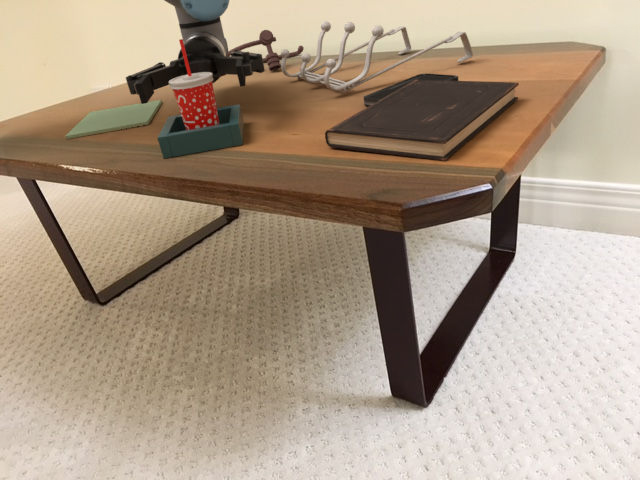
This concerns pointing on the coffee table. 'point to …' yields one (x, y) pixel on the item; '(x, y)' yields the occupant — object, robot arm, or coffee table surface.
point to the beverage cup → (195, 97)
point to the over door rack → (377, 35)
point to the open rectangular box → (202, 134)
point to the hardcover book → (424, 118)
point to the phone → (388, 90)
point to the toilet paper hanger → (268, 49)
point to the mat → (115, 119)
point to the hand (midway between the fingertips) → (191, 85)
